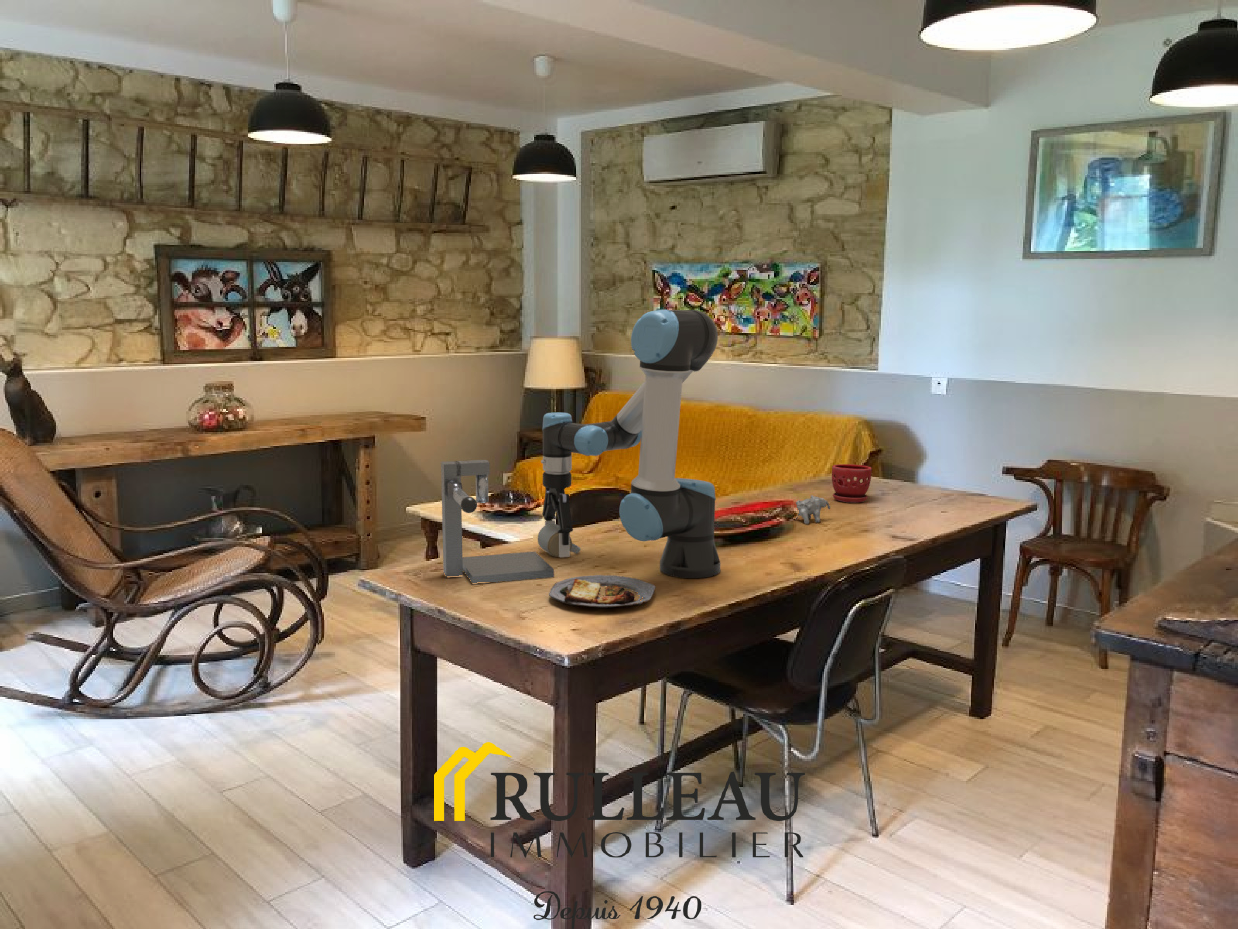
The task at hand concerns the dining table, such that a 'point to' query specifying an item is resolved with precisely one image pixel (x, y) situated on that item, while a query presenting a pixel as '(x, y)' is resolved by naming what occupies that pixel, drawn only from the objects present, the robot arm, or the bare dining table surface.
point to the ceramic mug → (553, 540)
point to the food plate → (590, 588)
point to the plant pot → (851, 482)
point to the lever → (461, 497)
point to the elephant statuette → (811, 508)
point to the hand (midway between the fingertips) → (557, 550)
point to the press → (453, 562)
